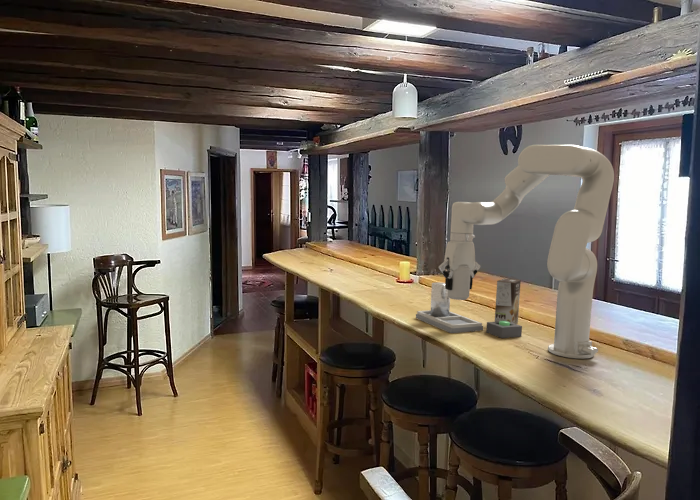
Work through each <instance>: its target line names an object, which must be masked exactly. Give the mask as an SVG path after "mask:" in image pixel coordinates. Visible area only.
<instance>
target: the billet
mask: <svg viewBox="0 0 700 500" xmlns="http://www.w3.org/2000/svg"><path fill="white" fill-rule="evenodd" d="M447 291H448V290H447V289H445V282H441V281H439V282H432V283H431V293H430V295H431V296H430V297H431V298H430V310H431V312H430V315H431V316H433V317H449V311H450V310H451V309H450V308H451V307H450V305H451V298H449V296H448V295H447Z"/></svg>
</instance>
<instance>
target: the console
mask: <svg viewBox="0 0 700 500" xmlns="http://www.w3.org/2000/svg"><path fill="white" fill-rule="evenodd" d="M507 322H508V321H507ZM522 330H523V326H522V325H519V324H518V323H517V324H514V323H511V322H510V326H502V325H499V321H495V320H494V321H487V322H486V331H485V332H486V333H487V334H489V333H490V335H492V336H495V337H497V336H498V337H497V338H500V339H507V338H509V337H511V338H519V337H520V336H521V337H522V333H523V332H522Z"/></svg>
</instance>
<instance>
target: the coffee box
mask: <svg viewBox="0 0 700 500" xmlns="http://www.w3.org/2000/svg"><path fill="white" fill-rule="evenodd" d="M521 282H522V281H521V279H513V278H501V279H499V280H497V281H496V292H495V293H496V295H495V308H494V310H495V312H494V322H495V321H508V322H511V323H514V324H517V325H518V323H519V310H520V297H521Z"/></svg>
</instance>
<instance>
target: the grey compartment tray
mask: <svg viewBox="0 0 700 500" xmlns="http://www.w3.org/2000/svg"><path fill="white" fill-rule="evenodd" d="M430 312H431V309H430V310H418V311H416V314H415V319H417V320H419V321H421V322H423V323H424V322H425V323H426V324H429V325H431V326H433V327H436V328H438V329H440V330H443V331H445V332H448V333H449V334H458V333H470V331H471V332H480V330H483V331H484V325H483V322H480V321H477V320H475V319H471V318H469V317H466V316H463V315H461V314H458V313H456V312H453V311H450V310H449V317H433V316H431V315H430Z"/></svg>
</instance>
